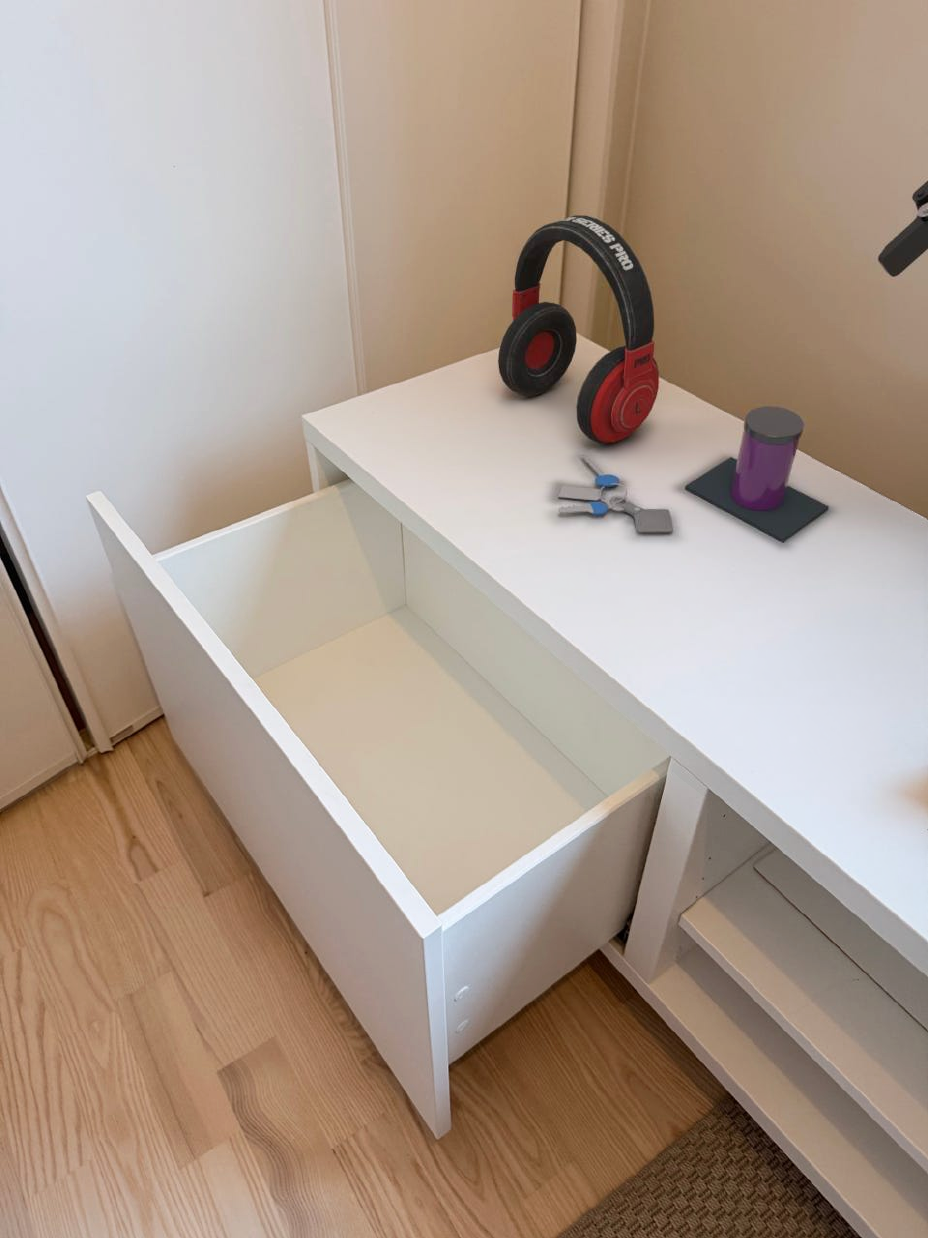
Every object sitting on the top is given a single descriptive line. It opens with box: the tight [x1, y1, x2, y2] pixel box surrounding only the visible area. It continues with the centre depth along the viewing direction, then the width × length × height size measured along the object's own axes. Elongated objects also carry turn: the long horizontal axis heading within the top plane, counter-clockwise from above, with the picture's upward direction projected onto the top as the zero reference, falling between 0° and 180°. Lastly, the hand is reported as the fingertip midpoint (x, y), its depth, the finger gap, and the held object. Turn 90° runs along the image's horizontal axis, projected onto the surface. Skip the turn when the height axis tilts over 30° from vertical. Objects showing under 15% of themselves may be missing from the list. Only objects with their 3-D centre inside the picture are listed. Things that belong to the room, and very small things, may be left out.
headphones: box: [497, 214, 660, 445], centre depth 92 cm, size 18×10×20 cm, turn 37°
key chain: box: [557, 453, 674, 533], centre depth 87 cm, size 14×8×1 cm, turn 36°
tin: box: [731, 405, 805, 511], centre depth 84 cm, size 5×5×8 cm
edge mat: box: [684, 456, 830, 543], centre depth 87 cm, size 11×7×1 cm, turn 41°
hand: (915, 293), depth 67 cm, fingers open, 8 cm apart
